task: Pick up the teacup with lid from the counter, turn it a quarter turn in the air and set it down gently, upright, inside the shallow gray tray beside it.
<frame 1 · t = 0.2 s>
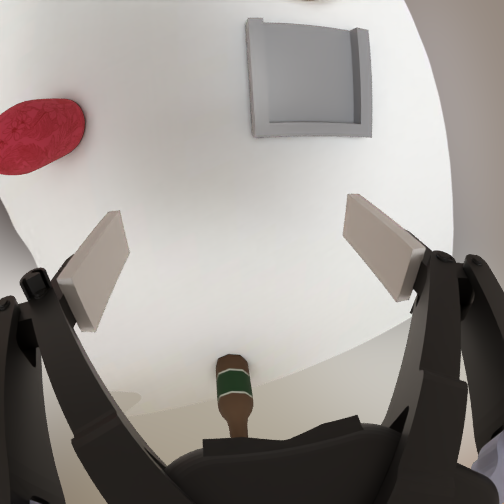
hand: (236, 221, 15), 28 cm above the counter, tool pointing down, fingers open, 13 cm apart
shallow gray tray: (308, 77, 35), on the counter
wine bottle: (64, 126, 33), on the counter
beer bottle: (231, 362, 63), on the counter
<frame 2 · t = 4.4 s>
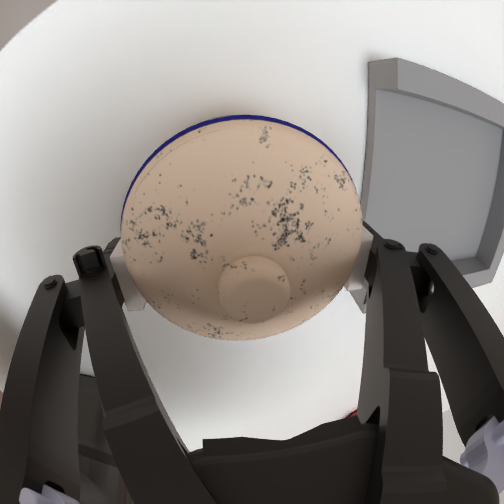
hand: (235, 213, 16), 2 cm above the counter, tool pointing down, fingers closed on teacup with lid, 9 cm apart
shallow gray tray: (446, 188, 19), on the counter
teacup with lid: (238, 201, 18), on the counter, touching gripper
when the fingers open (4 cm above the counter, at t = 11.1 s): teacup with lid drops 1 cm, resting on shallow gray tray.
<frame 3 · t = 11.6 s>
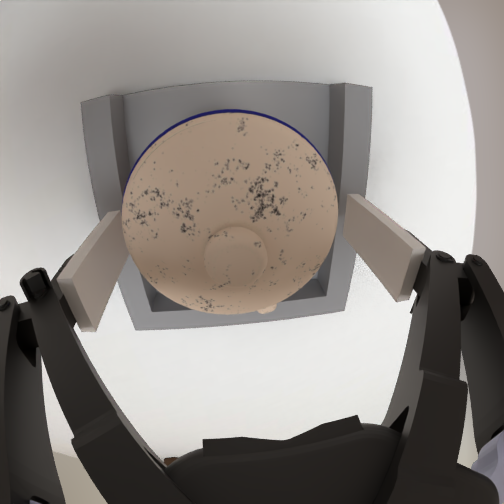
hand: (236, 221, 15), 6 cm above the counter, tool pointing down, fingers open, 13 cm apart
shallow gray tray: (231, 203, 21), on the counter
teacup with lid: (231, 191, 19), point 1 cm above the counter, touching shallow gray tray
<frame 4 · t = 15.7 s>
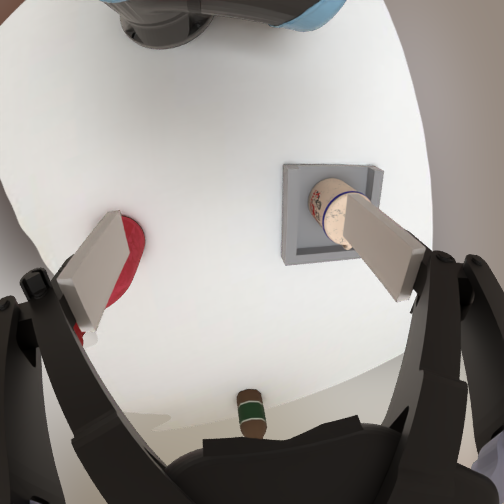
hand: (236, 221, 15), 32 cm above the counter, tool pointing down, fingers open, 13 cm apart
shallow gray tray: (328, 211, 51), on the counter
wine bottle: (123, 236, 48), on the counter
beer bottle: (248, 394, 79), on the counter
teacup with lid: (330, 206, 50), point 1 cm above the counter, touching shallow gray tray
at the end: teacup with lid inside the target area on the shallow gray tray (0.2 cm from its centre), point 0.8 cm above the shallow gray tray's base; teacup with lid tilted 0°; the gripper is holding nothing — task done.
